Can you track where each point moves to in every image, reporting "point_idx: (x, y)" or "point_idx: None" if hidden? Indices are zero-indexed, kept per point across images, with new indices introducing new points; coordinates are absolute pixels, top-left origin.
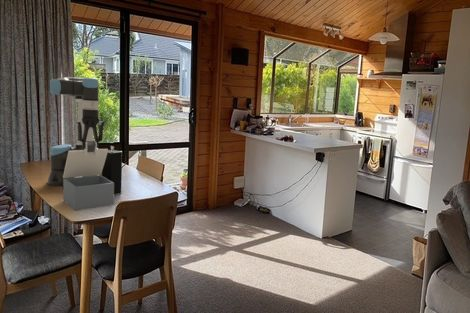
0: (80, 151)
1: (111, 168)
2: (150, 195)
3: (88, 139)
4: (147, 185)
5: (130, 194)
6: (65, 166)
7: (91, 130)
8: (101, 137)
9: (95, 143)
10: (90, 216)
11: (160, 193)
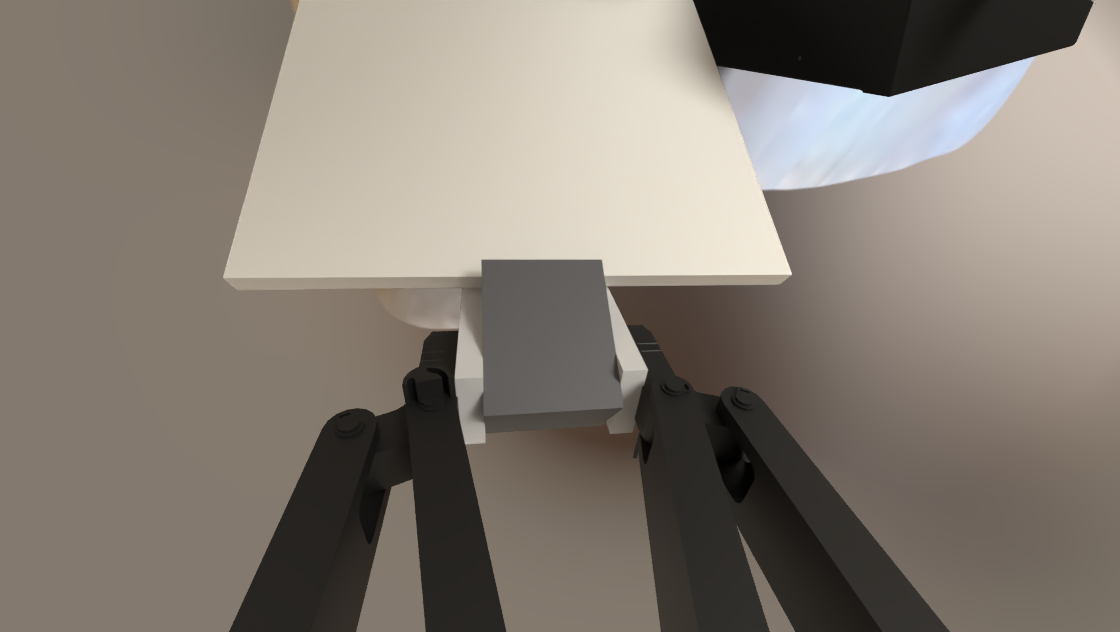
0: (413, 283)
1: (775, 73)
2: (828, 166)
3: None
4: None
5: (773, 91)
6: (287, 62)
7: None
8: (740, 488)
9: (607, 421)
10: (451, 307)
11: (889, 159)
